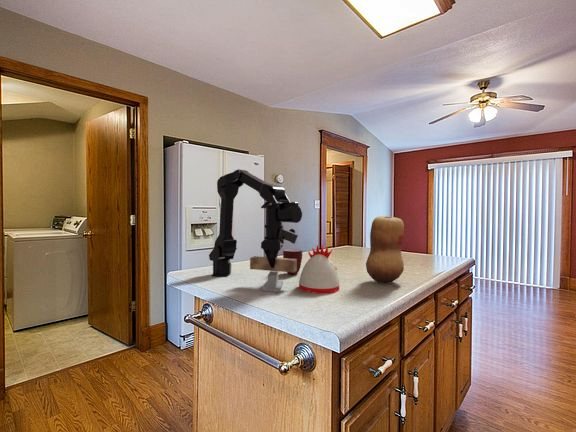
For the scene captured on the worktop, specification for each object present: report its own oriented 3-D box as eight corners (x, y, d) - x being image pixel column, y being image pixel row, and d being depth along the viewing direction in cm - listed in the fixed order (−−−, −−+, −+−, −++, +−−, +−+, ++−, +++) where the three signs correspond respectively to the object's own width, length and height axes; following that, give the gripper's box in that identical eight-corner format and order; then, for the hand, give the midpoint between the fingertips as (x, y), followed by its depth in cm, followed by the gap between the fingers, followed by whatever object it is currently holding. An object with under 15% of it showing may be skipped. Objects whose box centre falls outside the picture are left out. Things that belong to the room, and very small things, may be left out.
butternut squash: (396, 289, 107) (397, 216, 106) (360, 283, 115) (361, 216, 114) (408, 281, 118) (409, 216, 117) (374, 276, 126) (375, 215, 125)
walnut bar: (250, 269, 108) (250, 257, 108) (254, 267, 112) (254, 256, 112) (293, 272, 104) (294, 260, 103) (296, 270, 107) (296, 259, 107)
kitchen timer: (338, 295, 99) (339, 248, 98) (296, 292, 101) (296, 246, 101) (339, 284, 112) (340, 243, 112) (302, 282, 115) (303, 242, 115)
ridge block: (262, 291, 102) (262, 276, 102) (266, 282, 114) (266, 269, 114) (280, 291, 102) (280, 276, 101) (282, 282, 114) (283, 269, 113)
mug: (304, 277, 124) (304, 252, 123) (284, 277, 123) (284, 252, 122) (300, 271, 134) (300, 248, 134) (281, 272, 133) (282, 249, 133)
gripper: (296, 223, 97) (295, 272, 98) (297, 221, 116) (297, 262, 116) (261, 222, 98) (260, 271, 98) (268, 220, 117) (267, 261, 117)
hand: (273, 266), depth 108 cm, fingers closed on walnut bar, 4 cm apart
